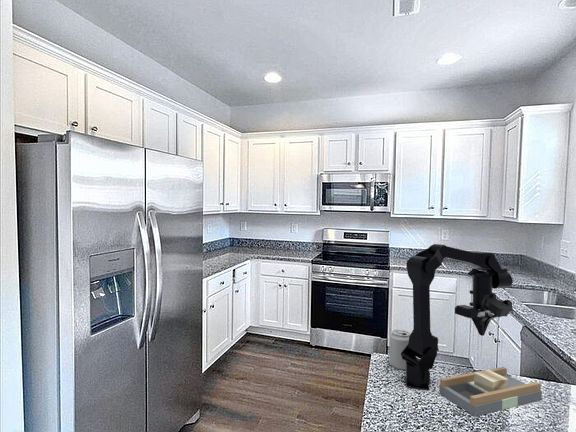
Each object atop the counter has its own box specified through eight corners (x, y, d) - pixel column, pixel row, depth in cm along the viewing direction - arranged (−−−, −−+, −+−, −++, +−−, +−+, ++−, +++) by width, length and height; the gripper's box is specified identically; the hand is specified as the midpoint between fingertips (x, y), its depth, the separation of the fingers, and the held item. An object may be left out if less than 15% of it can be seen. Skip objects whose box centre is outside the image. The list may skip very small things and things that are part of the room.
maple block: (492, 394, 92) (492, 381, 92) (474, 384, 98) (474, 372, 98) (507, 391, 94) (508, 378, 94) (488, 381, 100) (489, 369, 100)
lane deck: (474, 416, 86) (475, 399, 86) (439, 393, 97) (439, 378, 97) (541, 399, 95) (541, 384, 95) (502, 380, 106) (502, 366, 106)
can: (413, 372, 111) (414, 336, 111) (390, 369, 112) (390, 334, 112) (409, 362, 118) (410, 329, 118) (388, 360, 120) (388, 327, 120)
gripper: (483, 295, 100) (482, 347, 100) (525, 292, 106) (525, 340, 106) (453, 288, 111) (453, 334, 110) (493, 285, 117) (493, 329, 117)
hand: (481, 335), depth 111 cm, fingers closed
